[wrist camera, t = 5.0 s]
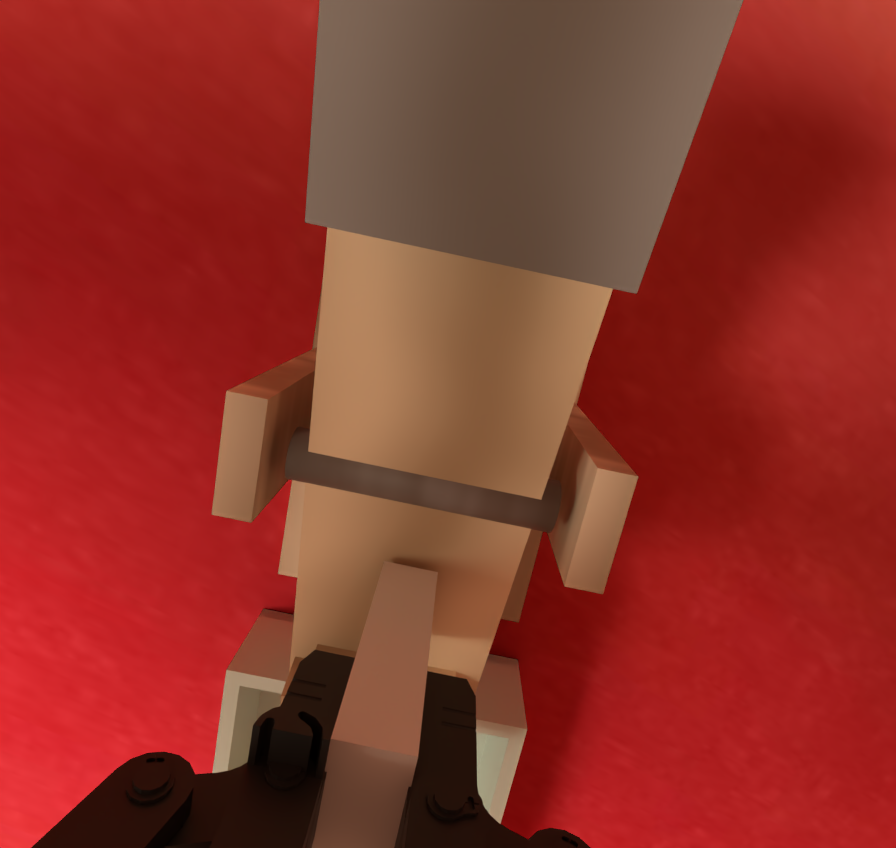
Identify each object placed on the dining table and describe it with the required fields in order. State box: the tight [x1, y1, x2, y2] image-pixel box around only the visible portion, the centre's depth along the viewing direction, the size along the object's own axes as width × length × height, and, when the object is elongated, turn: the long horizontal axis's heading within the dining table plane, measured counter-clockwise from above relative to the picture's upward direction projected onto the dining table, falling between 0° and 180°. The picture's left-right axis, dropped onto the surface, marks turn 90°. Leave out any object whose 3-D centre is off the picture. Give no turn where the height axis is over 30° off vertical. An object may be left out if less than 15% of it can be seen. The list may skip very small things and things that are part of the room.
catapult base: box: [212, 282, 638, 622], centre depth 20 cm, size 11×22×11 cm, turn 168°
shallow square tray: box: [213, 609, 527, 824], centre depth 28 cm, size 12×12×4 cm
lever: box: [280, 0, 743, 706], centre depth 14 cm, size 7×25×5 cm, turn 168°
